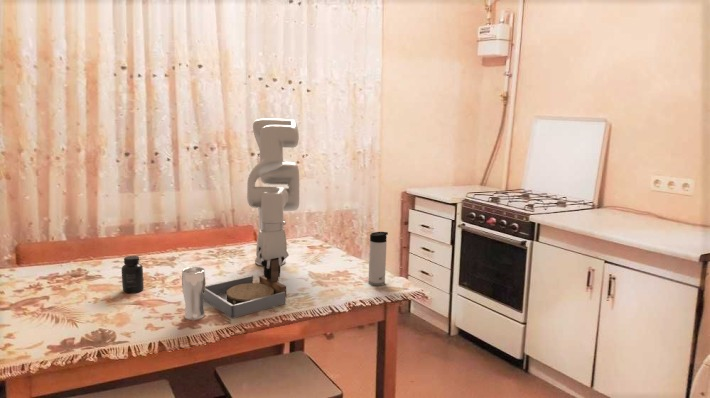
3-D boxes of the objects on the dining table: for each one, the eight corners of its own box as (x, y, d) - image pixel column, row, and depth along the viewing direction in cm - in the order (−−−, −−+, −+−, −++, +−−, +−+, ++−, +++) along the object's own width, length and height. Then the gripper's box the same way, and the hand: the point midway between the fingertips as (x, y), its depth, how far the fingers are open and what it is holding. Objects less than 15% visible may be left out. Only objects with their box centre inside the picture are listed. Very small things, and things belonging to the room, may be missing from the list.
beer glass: (185, 311, 164) (184, 266, 161) (208, 311, 164) (207, 266, 162) (180, 320, 157) (178, 273, 154) (203, 320, 157) (202, 273, 155)
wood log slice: (281, 302, 174) (281, 294, 173) (236, 311, 165) (236, 303, 165) (262, 288, 187) (262, 280, 186) (220, 295, 178) (219, 287, 178)
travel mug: (384, 286, 192) (386, 234, 188) (367, 285, 193) (368, 233, 189) (386, 281, 198) (388, 230, 194) (369, 279, 199) (371, 229, 195)
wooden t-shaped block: (258, 287, 186) (258, 255, 184) (265, 285, 188) (265, 253, 186) (280, 298, 176) (280, 264, 173) (287, 296, 178) (287, 263, 175)
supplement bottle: (148, 288, 183) (146, 256, 181) (134, 294, 176) (132, 261, 174) (132, 285, 185) (130, 253, 183) (118, 292, 179) (116, 258, 176)
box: (201, 298, 175) (200, 286, 175) (251, 285, 188) (251, 275, 188) (232, 318, 160) (232, 306, 159) (285, 303, 173) (285, 292, 172)
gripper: (285, 221, 186) (285, 269, 189) (245, 227, 175) (246, 279, 178) (297, 225, 180) (297, 275, 183) (257, 231, 169) (257, 285, 173)
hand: (272, 276), depth 181 cm, fingers closed on wooden t-shaped block, 3 cm apart
